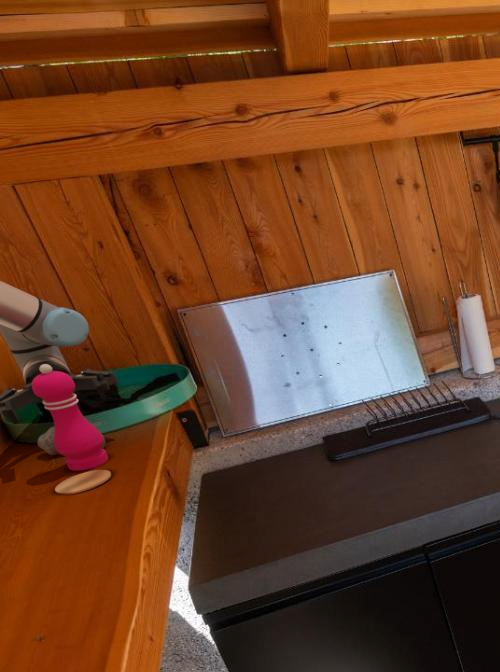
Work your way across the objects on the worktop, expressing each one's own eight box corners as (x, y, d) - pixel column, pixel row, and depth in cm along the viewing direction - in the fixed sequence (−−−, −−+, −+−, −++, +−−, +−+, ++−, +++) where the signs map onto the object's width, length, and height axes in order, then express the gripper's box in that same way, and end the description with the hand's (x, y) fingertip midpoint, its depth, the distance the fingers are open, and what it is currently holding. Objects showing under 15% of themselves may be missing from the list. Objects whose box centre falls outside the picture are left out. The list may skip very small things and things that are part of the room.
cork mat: (44, 496, 134) (43, 494, 134) (77, 473, 142) (76, 471, 142) (91, 492, 134) (90, 490, 134) (121, 469, 142) (120, 467, 141)
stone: (115, 448, 153) (94, 417, 154) (102, 438, 148) (80, 406, 149) (62, 474, 149) (41, 442, 150) (47, 465, 144) (25, 432, 145)
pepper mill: (56, 470, 143) (7, 370, 133) (91, 453, 149) (47, 356, 139) (86, 474, 141) (39, 372, 132) (121, 456, 147) (78, 358, 138)
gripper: (127, 376, 164) (144, 400, 150) (-19, 415, 150) (-16, 446, 136) (111, 343, 160) (127, 365, 146) (-40, 380, 146) (-39, 408, 132)
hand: (58, 404), depth 141 cm, fingers open, 13 cm apart
